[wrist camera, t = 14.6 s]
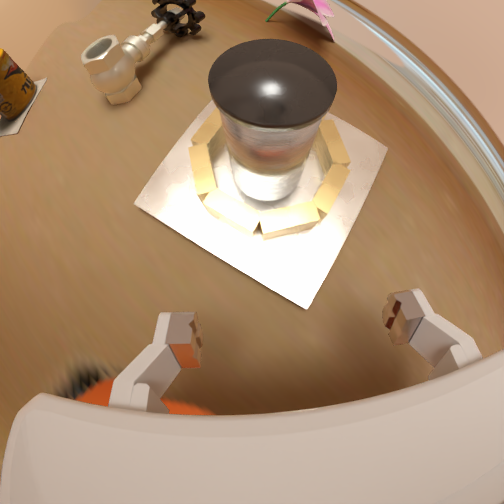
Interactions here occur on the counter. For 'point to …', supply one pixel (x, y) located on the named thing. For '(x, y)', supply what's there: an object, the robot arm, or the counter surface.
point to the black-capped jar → (270, 111)
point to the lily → (316, 4)
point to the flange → (266, 204)
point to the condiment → (15, 94)
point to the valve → (134, 51)
